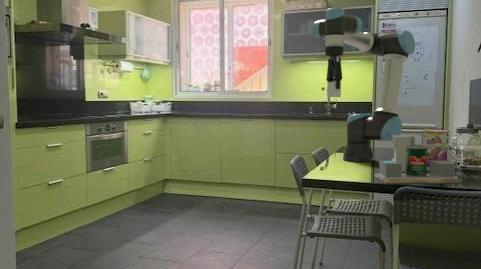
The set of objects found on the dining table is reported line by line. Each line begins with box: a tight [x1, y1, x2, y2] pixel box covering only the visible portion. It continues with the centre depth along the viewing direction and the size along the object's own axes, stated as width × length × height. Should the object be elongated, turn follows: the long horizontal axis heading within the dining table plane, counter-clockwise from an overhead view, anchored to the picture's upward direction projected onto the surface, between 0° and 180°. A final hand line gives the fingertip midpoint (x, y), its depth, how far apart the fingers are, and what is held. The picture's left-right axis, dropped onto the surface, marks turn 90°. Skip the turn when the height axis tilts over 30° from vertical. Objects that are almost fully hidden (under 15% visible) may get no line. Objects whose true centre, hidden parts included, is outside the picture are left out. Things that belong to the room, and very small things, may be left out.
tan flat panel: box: [375, 172, 459, 180], centre depth 181 cm, size 10×28×1 cm, turn 90°
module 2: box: [429, 161, 456, 177], centre depth 181 cm, size 8×6×5 cm
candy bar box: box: [421, 129, 451, 167], centre depth 216 cm, size 11×5×16 cm, turn 57°
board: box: [374, 173, 462, 184], centre depth 181 cm, size 14×28×1 cm, turn 90°
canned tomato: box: [405, 146, 428, 177], centre depth 181 cm, size 8×8×11 cm
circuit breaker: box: [391, 135, 429, 172], centre depth 201 cm, size 8×14×15 cm, turn 78°
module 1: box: [378, 160, 402, 177], centre depth 181 cm, size 8×6×5 cm
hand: (333, 97), depth 198 cm, fingers open, 13 cm apart
